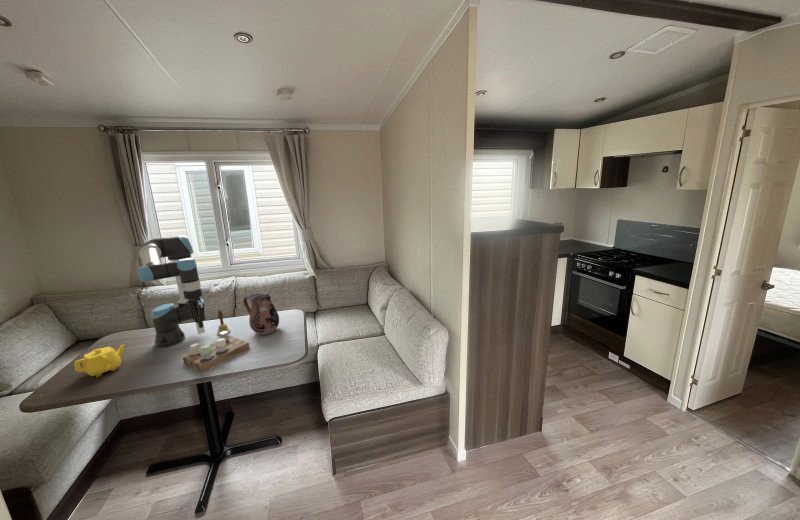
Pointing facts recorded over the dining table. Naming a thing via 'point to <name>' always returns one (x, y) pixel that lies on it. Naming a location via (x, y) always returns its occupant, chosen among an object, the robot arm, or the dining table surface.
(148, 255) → the robot arm
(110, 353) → the teapot
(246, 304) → the ceramic pitcher
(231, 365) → the dining table surface
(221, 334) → the slider aluminium
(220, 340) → the button ivory
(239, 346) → the console
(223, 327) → the hand bell
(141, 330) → the dining table surface
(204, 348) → the button sage
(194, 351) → the slider ivory
